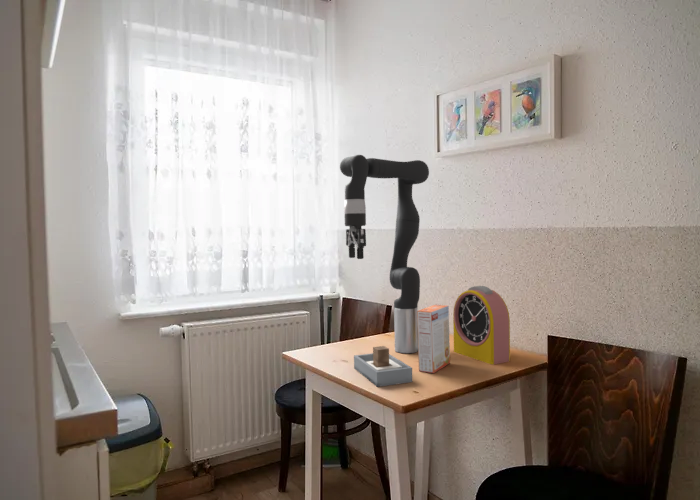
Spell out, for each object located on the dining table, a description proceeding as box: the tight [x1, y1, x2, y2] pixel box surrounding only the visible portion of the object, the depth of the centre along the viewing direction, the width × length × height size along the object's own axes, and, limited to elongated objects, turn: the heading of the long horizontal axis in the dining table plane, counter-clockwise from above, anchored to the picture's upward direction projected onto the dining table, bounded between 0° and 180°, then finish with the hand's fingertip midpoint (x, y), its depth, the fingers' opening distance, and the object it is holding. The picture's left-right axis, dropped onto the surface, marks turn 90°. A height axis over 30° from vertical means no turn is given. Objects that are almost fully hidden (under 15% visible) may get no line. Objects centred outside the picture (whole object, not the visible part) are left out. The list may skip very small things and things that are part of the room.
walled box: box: [353, 352, 413, 388], centre depth 156 cm, size 12×21×4 cm, turn 19°
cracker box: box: [417, 304, 451, 374], centre depth 163 cm, size 14×6×21 cm, turn 145°
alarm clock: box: [452, 285, 511, 365], centre depth 176 cm, size 21×9×26 cm, turn 27°
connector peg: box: [372, 345, 390, 368], centre depth 156 cm, size 4×4×8 cm
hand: (356, 258), depth 167 cm, fingers open, 8 cm apart
